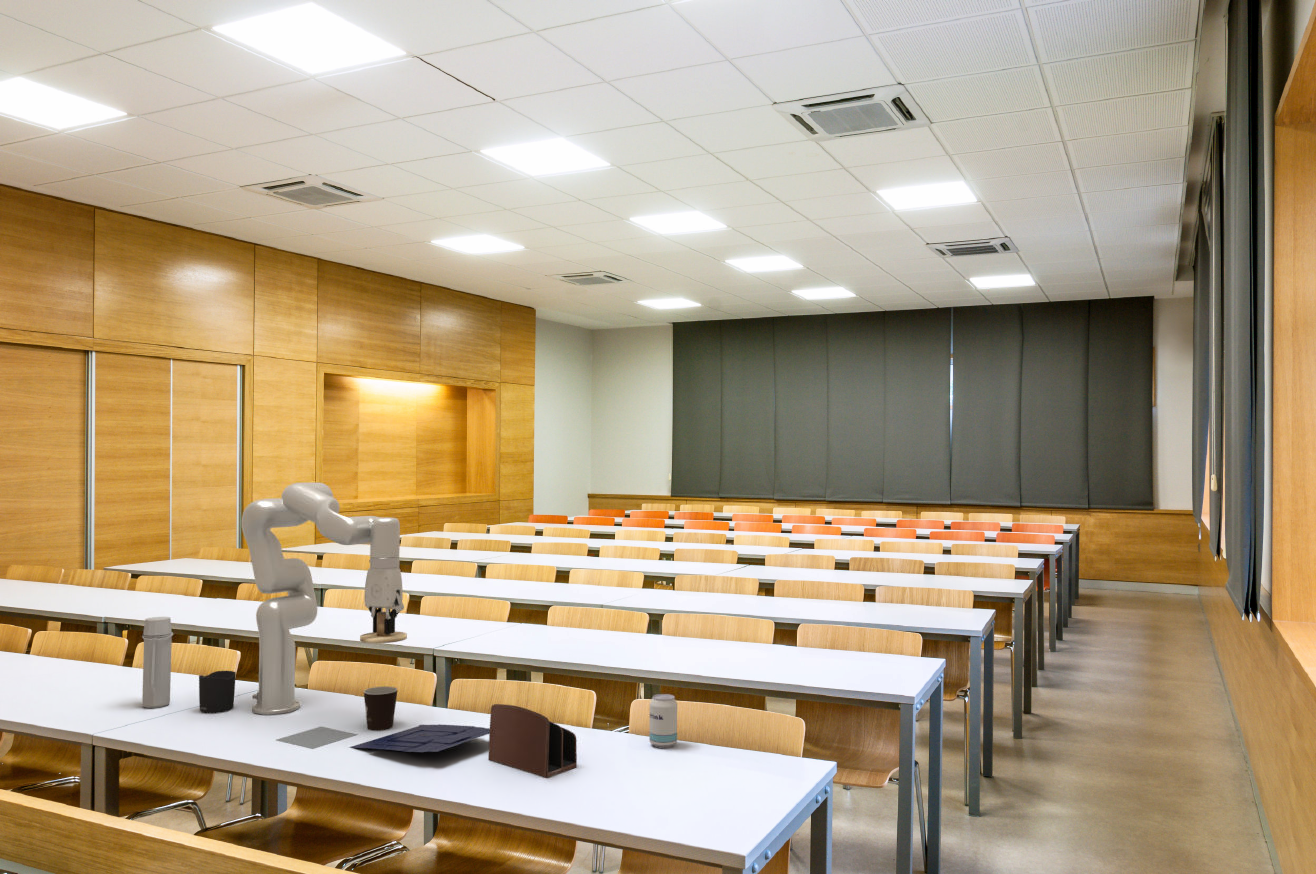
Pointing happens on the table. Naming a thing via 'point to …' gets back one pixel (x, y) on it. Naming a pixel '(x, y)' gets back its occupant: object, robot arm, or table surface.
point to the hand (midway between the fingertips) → (383, 632)
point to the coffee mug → (380, 707)
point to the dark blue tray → (426, 738)
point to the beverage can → (663, 721)
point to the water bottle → (157, 662)
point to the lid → (382, 633)
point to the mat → (316, 737)
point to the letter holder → (530, 741)
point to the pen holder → (217, 691)
